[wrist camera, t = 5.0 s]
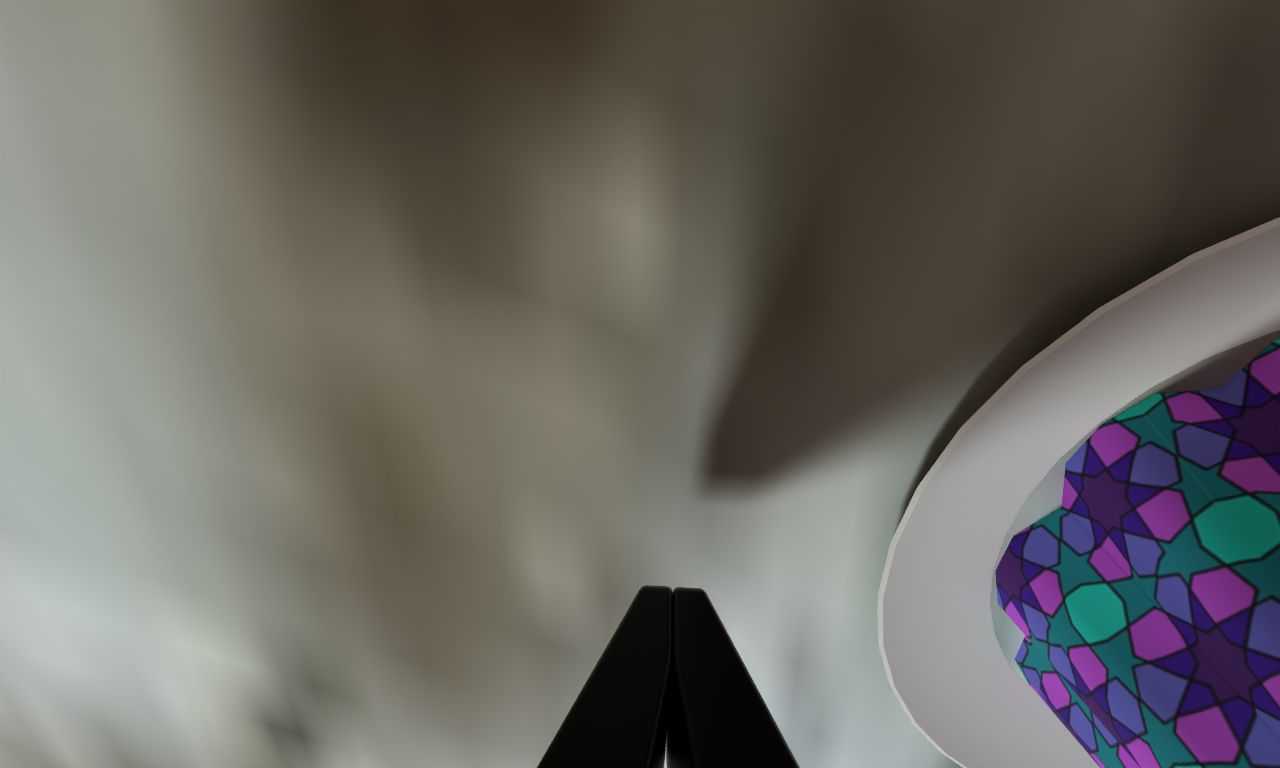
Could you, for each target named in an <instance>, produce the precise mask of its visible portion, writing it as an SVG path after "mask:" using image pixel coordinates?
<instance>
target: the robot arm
mask: <svg viewBox="0 0 1280 768" xmlns="http://www.w3.org/2000/svg"><path fill="white" fill-rule="evenodd" d="M666 736H667V738H666ZM665 750H666V759H667V768H800V767H799V765H798V764H797V762H796V760H795V758H794V756H793V754H792V752H791V751H790V749H789V747H788V745H787V743H786V741H785V739H784V737H783V736H782V734H781V732H780V730H779V728H778V726H777V724H776V723H775V721H774V719H773V717H772V715H771V713H770V711H769V709H768V708H767V706H766V704H765V702H764V700H763V698H762V696H761V695H760V693H759V691H758V689H757V687H756V685H755V683H754V681H753V680H752V678H751V676H750V674H749V672H748V670H747V668H746V667H745V665H744V663H743V661H742V659H741V657H740V655H739V653H738V652H737V650H736V648H735V646H734V644H733V642H732V640H731V639H730V637H729V635H728V633H727V631H726V629H725V627H724V625H723V624H722V622H721V620H720V618H719V616H718V614H717V612H716V611H715V609H714V607H713V605H712V603H711V601H710V599H709V597H708V596H707V594H706V592H705V591H704V590H702V589H700V588H683V587H677V588H675V589H674V591H673V593H672V589H671V588H670V587H666V586H648V585H646V586H643V587H642V588H641V589H640V590H639V592H638V593H637V595H636V597H635V598H634V600H633V602H632V604H631V605H630V607H629V609H628V611H627V612H626V614H625V616H624V618H623V619H622V621H621V623H620V624H619V626H618V628H617V630H616V631H615V633H614V635H613V637H612V638H611V640H610V642H609V644H608V645H607V647H606V649H605V651H604V652H603V654H602V656H601V657H600V659H599V661H598V663H597V664H596V666H595V668H594V670H593V671H592V673H591V675H590V677H589V678H588V680H587V682H586V683H585V685H584V687H583V689H582V690H581V692H580V694H579V696H578V697H577V699H576V701H575V703H574V704H573V706H572V708H571V710H570V711H569V713H568V715H567V716H566V718H565V720H564V722H563V723H562V725H561V727H560V729H559V730H558V732H557V734H556V736H555V737H554V739H553V741H552V742H551V744H550V746H549V748H548V749H547V751H546V753H545V755H544V756H543V758H542V760H541V762H540V763H539V765H538V767H537V768H664V761H665Z"/></svg>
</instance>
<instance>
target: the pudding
mask: <svg viewBox="0 0 1280 768" xmlns="http://www.w3.org/2000/svg"><path fill="white" fill-rule="evenodd" d="M1276 331H1280V217H1279V218H1276V219H1274V220H1272V221H1269V222H1267V223H1264V224H1262V225H1260V226H1257V227H1255V228H1253V229H1250V230H1248V231H1246V232H1243V233H1241V234H1238V235H1236V236H1234V237H1231V238H1229V239H1227V240H1224V241H1222V242H1220V243H1217V244H1215V245H1212V246H1210V247H1208V248H1205V249H1203V250H1201V251H1198V252H1196V253H1194V254H1192V255H1190V256H1188V257H1186V258H1185V259H1183V260H1181V261H1179V262H1178V263H1176V264H1174V265H1172V266H1171V267H1169V268H1167V269H1166V270H1164V271H1162V272H1160V273H1159V274H1157V275H1155V276H1153V277H1152V278H1150V279H1148V280H1146V281H1145V282H1143V283H1141V284H1139V285H1138V286H1136V287H1134V288H1133V289H1131V290H1129V291H1127V292H1126V293H1124V294H1122V295H1120V296H1119V297H1117V298H1115V299H1113V300H1112V301H1110V302H1108V303H1106V304H1105V305H1103V306H1101V307H1100V308H1098V309H1097V310H1095V311H1094V312H1093V313H1091V314H1090V315H1089V316H1087V317H1086V318H1085V319H1084V320H1082V321H1081V322H1080V323H1078V324H1077V325H1076V326H1074V327H1073V328H1072V329H1070V330H1069V331H1068V332H1066V333H1065V334H1064V335H1062V336H1061V337H1060V338H1058V339H1057V340H1056V341H1055V342H1053V343H1052V344H1051V345H1049V346H1048V347H1047V348H1045V349H1044V350H1043V351H1041V352H1040V353H1039V354H1037V355H1036V356H1035V357H1033V358H1032V359H1031V360H1030V361H1028V362H1027V363H1026V364H1024V365H1023V366H1022V367H1020V368H1019V369H1018V370H1017V371H1016V372H1015V373H1014V374H1013V375H1012V376H1011V377H1010V378H1009V379H1008V380H1007V382H1006V383H1005V384H1004V385H1003V386H1002V387H1001V388H1000V389H999V390H998V391H997V392H996V393H995V394H994V395H993V396H992V397H991V398H990V399H989V400H988V401H987V402H986V403H985V404H984V405H983V406H982V407H981V408H980V409H979V410H978V411H977V412H976V413H975V414H974V415H973V416H972V417H971V418H970V419H969V420H968V421H967V422H966V423H965V424H964V425H963V426H962V427H961V428H960V429H959V430H958V432H957V433H956V435H955V436H954V437H953V439H952V440H951V441H950V443H949V444H948V446H947V447H946V448H945V450H944V451H943V452H942V454H941V455H940V457H939V458H938V459H937V461H936V462H935V463H934V465H933V466H932V468H931V469H930V470H929V472H928V473H927V474H926V476H925V477H924V479H923V480H922V481H921V483H920V484H919V486H918V487H917V489H916V491H915V493H914V495H913V497H912V499H911V501H910V503H909V505H908V508H907V510H906V512H905V514H904V516H903V518H902V520H901V522H900V524H899V526H898V528H897V531H896V533H895V535H894V537H893V539H892V541H891V543H890V546H889V550H888V555H887V559H886V563H885V567H884V571H883V576H882V580H881V584H880V588H879V593H878V646H879V649H880V653H881V656H882V660H883V663H884V667H885V670H886V674H887V678H888V681H889V685H890V687H891V689H892V690H893V692H894V694H895V695H896V697H897V699H898V700H899V702H900V704H901V706H902V707H903V709H904V711H905V712H906V714H907V716H908V717H909V719H910V721H911V722H912V723H913V724H914V725H915V726H916V727H917V728H918V729H919V730H920V732H921V733H922V734H923V735H924V736H925V737H926V738H927V739H928V740H929V741H930V742H931V743H932V744H933V745H934V746H935V747H936V748H937V749H938V750H939V751H940V752H941V753H942V754H944V755H945V756H947V757H948V758H950V759H951V760H953V761H954V762H956V763H957V764H959V765H960V766H962V767H963V768H1280V339H1278V340H1275V341H1273V342H1272V343H1271V344H1270V345H1269V346H1268V347H1267V348H1265V349H1264V350H1263V351H1262V352H1261V353H1260V354H1259V355H1258V356H1256V357H1255V358H1254V359H1253V360H1252V361H1251V362H1250V363H1249V364H1247V365H1246V366H1245V367H1244V368H1243V369H1242V370H1241V371H1240V372H1239V373H1237V374H1236V375H1235V376H1234V377H1233V378H1232V379H1231V380H1230V381H1228V382H1227V383H1226V384H1225V385H1224V386H1223V387H1222V388H1221V389H1209V390H1197V391H1184V392H1172V393H1159V394H1154V395H1152V396H1151V397H1149V398H1147V399H1145V400H1144V401H1142V402H1140V403H1138V404H1137V405H1135V406H1133V407H1131V408H1129V409H1128V410H1126V411H1124V412H1122V413H1121V414H1119V415H1117V416H1115V417H1114V418H1112V419H1110V420H1108V421H1107V422H1105V423H1103V424H1102V425H1101V426H1100V427H1099V428H1098V429H1097V430H1096V431H1095V432H1094V433H1093V434H1092V435H1091V437H1090V438H1089V439H1088V440H1087V441H1086V442H1085V443H1084V444H1083V445H1082V446H1081V447H1080V448H1079V449H1078V450H1077V452H1076V453H1075V454H1074V455H1073V456H1072V457H1071V458H1070V459H1069V460H1068V461H1067V462H1066V467H1065V477H1064V488H1063V498H1062V507H1060V508H1059V509H1057V510H1055V511H1054V512H1052V513H1051V514H1049V515H1047V516H1046V517H1044V518H1042V519H1041V520H1039V521H1037V522H1036V523H1034V524H1032V525H1031V526H1029V527H1027V528H1026V529H1024V530H1023V531H1021V532H1019V533H1018V534H1016V535H1014V536H1013V538H1012V540H1011V542H1010V544H1009V546H1008V548H1007V550H1006V552H1005V553H1004V555H1003V557H1002V559H1001V561H1000V563H999V565H998V567H997V569H996V584H997V598H998V604H999V605H1000V606H1001V607H1002V609H1003V610H1004V611H1005V612H1006V613H1007V614H1008V616H1009V617H1010V618H1011V619H1012V620H1013V621H1014V622H1015V624H1016V625H1017V626H1018V627H1019V628H1020V629H1021V631H1022V632H1023V633H1024V634H1025V635H1026V636H1025V638H1024V640H1023V642H1022V644H1021V647H1020V649H1019V651H1018V653H1017V655H1016V657H1015V660H1016V662H1017V664H1018V666H1019V667H1020V669H1021V671H1022V673H1023V674H1024V676H1025V678H1026V680H1027V681H1028V683H1029V685H1030V686H1031V687H1032V688H1033V689H1034V690H1035V691H1034V690H1033V689H1031V688H1030V687H1029V686H1027V685H1026V684H1025V683H1024V681H1023V680H1022V679H1021V678H1020V677H1019V675H1018V674H1017V673H1016V672H1015V670H1014V669H1013V668H1012V667H1011V666H1010V664H1009V663H1008V662H1007V660H1006V658H1005V656H1004V654H1003V652H1002V649H1001V647H1000V645H999V643H998V641H997V639H996V636H995V633H994V627H993V621H992V615H991V609H990V597H991V586H992V576H993V570H994V567H995V564H996V561H997V558H998V555H999V552H1000V549H1001V546H1002V543H1003V540H1004V537H1005V535H1006V533H1007V531H1008V530H1009V528H1010V526H1011V524H1012V523H1013V521H1014V519H1015V518H1016V516H1017V514H1018V512H1019V511H1020V509H1021V507H1022V505H1023V504H1024V502H1025V500H1026V499H1027V497H1028V496H1029V495H1030V494H1031V492H1032V491H1033V490H1034V489H1035V488H1036V486H1037V485H1038V484H1039V483H1040V482H1041V480H1042V479H1043V478H1044V477H1045V476H1046V474H1047V473H1048V472H1049V471H1050V470H1051V468H1052V467H1053V466H1054V465H1055V464H1056V462H1057V461H1058V460H1059V459H1060V458H1061V457H1062V456H1063V455H1064V454H1066V453H1067V452H1068V451H1069V450H1070V449H1071V448H1072V447H1073V446H1074V445H1076V444H1077V443H1078V442H1079V441H1080V440H1081V439H1082V438H1083V437H1084V436H1086V435H1087V434H1088V433H1089V432H1090V431H1091V430H1092V429H1093V428H1095V427H1096V426H1097V425H1098V424H1099V423H1100V422H1102V421H1103V420H1104V419H1106V418H1107V417H1109V416H1110V415H1112V414H1113V413H1115V412H1116V411H1117V410H1119V409H1120V408H1122V407H1123V406H1125V405H1126V404H1128V403H1129V402H1131V401H1132V400H1133V399H1135V398H1136V397H1138V396H1139V395H1141V394H1142V393H1144V392H1145V391H1147V390H1148V389H1149V388H1151V387H1153V386H1155V385H1157V384H1159V383H1160V382H1162V381H1164V380H1166V379H1168V378H1170V377H1172V376H1174V375H1176V374H1178V373H1179V372H1181V371H1183V370H1185V369H1187V368H1189V367H1191V366H1193V365H1195V364H1197V363H1198V362H1200V361H1202V360H1204V359H1206V358H1208V357H1210V356H1213V355H1215V354H1218V353H1221V352H1223V351H1226V350H1228V349H1231V348H1233V347H1236V346H1239V345H1241V344H1244V343H1246V342H1249V341H1252V340H1254V339H1257V338H1259V337H1262V336H1265V335H1267V334H1270V333H1272V332H1276Z"/></svg>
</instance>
